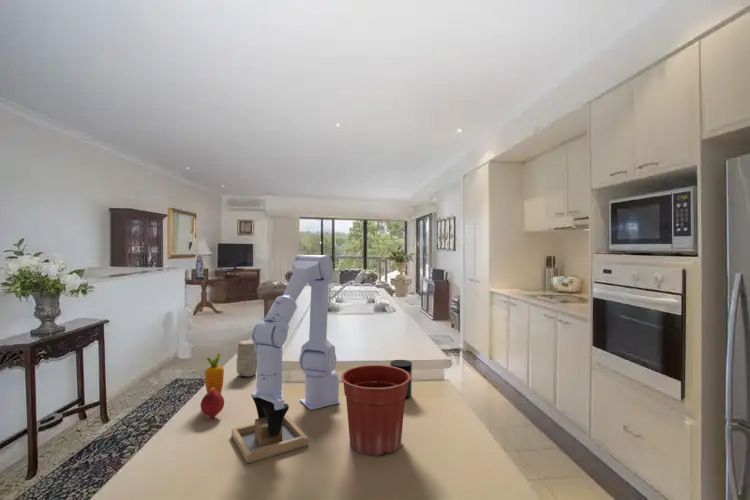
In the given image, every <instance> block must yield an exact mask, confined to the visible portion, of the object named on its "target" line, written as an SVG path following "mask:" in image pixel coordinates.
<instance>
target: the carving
mask: <svg viewBox="0 0 750 500" xmlns="http://www.w3.org/2000/svg"><path fill="white" fill-rule="evenodd" d="M236 354H237V355H236V356H237V357H236V374H237V375H238V376H241V377H253V376H256V375H257V353H256V351H255V345H254V343H253V341H252V339H247V340H242V341H239V343H238V345H237V351H236Z"/></svg>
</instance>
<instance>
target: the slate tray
mask: <svg viewBox="0 0 750 500" xmlns="http://www.w3.org/2000/svg"><path fill="white" fill-rule="evenodd" d="M231 438H232V439H233V442H234V444H235V445H236V448H237V449H238V450H239V453H240V454H241V455H242V457H243V459H244V460H245V463H246V464H247V465H248V464H252V463H255V462H258V461H262V460H265V459H268V458H272V457H275V456H279V455H282V454H285V453H288V452H292V451H296V450H299V449H302V448H306V447H308V446H309V437H308V436H307V435H306V433H305V432H304V431H302V429H301V428H300V427H298V425H297V424H296V423H295V422H294V421H293V420H292V419H291V418H290V417H289V415H287V414H285V416H284V419H283V422H282V442H278V443H275V444H271V445H268V446H264V447H260V445H259V444H258V442H257V441H256V439H255V422H254V423H251V424H246V425H241V426H238V427H233V428H231Z"/></svg>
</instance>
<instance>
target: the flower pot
mask: <svg viewBox="0 0 750 500" xmlns="http://www.w3.org/2000/svg"><path fill="white" fill-rule="evenodd" d="M340 378H341V379H340V380H341V381H342V384H343V392H344V396H345V398H346V399H345V400H346V410H347V421H348V422H347V423H348V435H349V444H350V445H351V446H352V448H353V450H354V451H356V452H358V453H360V454H363V455H367V456H383V454H385V453H387V454H388V453H389V454H392V453H394V452H395V451H397V450H398V449H399V448H400V446H401V444H402V434H403V425H404V424H403V423H404V414H405V403H406V400H405V397H406V395H407V388H408V382H409V381H410V378H411V376H410V374H409V373H408V372H407V371H405V370H403V369H400V368H397V367H392V366H390V365H383V364H367V365H360V366H354V367H351V368H348V369H346V370H345V371H343V372H342V373H341V374H340Z"/></svg>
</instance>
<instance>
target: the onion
mask: <svg viewBox="0 0 750 500" xmlns="http://www.w3.org/2000/svg"><path fill="white" fill-rule="evenodd" d="M215 390H216V388H212V389H211V390H210V392H208V393H207V392H206V394H205V395H204V396H203V398H202V399H201V402H200V411H201V412H202V414H203V415H204V416H206V417H208V418H210V419H214V418H215V417H216V416H217V415H218V414H219V413H221V412H222V411H223V409H224V406H225V398H224V397H223V395H222V393H221V394H220V393H219V392H217V391H215Z"/></svg>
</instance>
